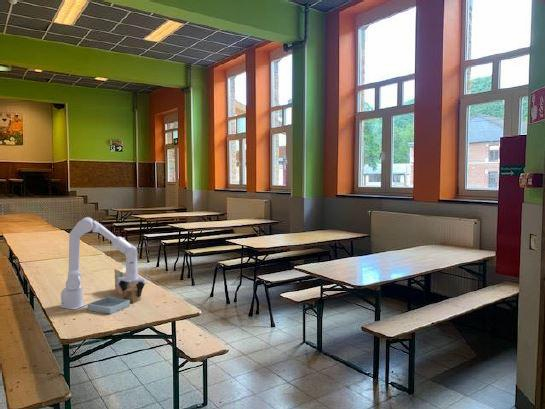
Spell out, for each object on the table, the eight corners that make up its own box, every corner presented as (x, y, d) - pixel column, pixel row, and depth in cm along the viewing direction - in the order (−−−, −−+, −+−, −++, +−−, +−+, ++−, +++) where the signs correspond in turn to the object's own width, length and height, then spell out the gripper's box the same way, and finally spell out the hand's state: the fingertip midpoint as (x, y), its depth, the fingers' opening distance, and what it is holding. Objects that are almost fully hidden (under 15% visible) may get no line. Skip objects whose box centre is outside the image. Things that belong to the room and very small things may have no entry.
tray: (87, 310, 199) (87, 304, 199) (107, 302, 211) (107, 296, 211) (110, 314, 194) (110, 308, 194) (129, 306, 206) (129, 300, 206)
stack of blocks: (141, 297, 221) (140, 274, 220) (129, 299, 217) (129, 276, 216) (125, 287, 237) (125, 266, 236) (114, 289, 233) (114, 268, 232)
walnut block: (123, 302, 212) (123, 290, 211) (131, 299, 217) (131, 287, 217) (133, 303, 210) (132, 292, 209) (140, 300, 215) (140, 289, 215)
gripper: (114, 271, 209) (115, 297, 211) (141, 272, 207) (141, 299, 208) (121, 267, 216) (122, 293, 217) (147, 269, 214) (148, 295, 215)
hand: (132, 296), depth 213 cm, fingers open, 7 cm apart
